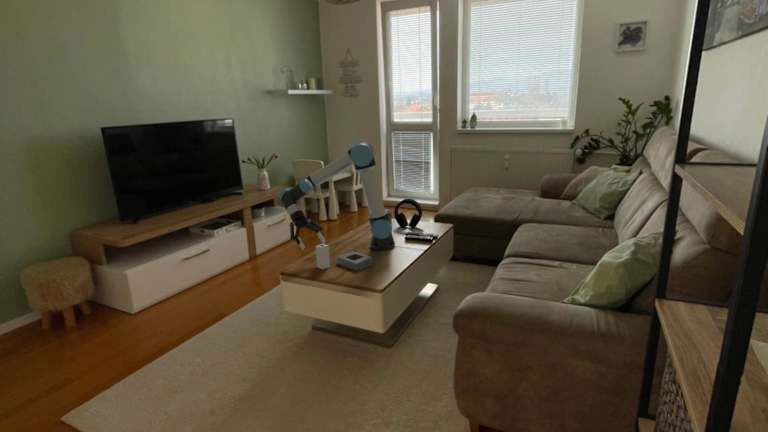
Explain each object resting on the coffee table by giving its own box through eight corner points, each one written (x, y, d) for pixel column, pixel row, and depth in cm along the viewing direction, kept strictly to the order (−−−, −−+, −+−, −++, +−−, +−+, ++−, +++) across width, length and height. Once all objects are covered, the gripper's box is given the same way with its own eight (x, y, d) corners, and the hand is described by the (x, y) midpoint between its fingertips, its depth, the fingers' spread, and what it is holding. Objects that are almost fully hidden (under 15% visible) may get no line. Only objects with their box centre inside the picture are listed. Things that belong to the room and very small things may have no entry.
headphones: (394, 228, 295) (393, 200, 290) (396, 225, 301) (396, 198, 296) (420, 229, 290) (420, 201, 285) (422, 227, 296) (422, 199, 291)
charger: (316, 267, 227) (315, 245, 224) (324, 264, 231) (322, 243, 227) (322, 269, 224) (321, 247, 221) (330, 266, 227) (328, 245, 224)
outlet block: (336, 263, 232) (336, 256, 231) (353, 257, 240) (353, 251, 239) (356, 270, 221) (356, 263, 220) (373, 264, 229) (373, 257, 228)
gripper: (311, 213, 245) (329, 243, 239) (274, 222, 228) (291, 254, 222) (316, 205, 240) (334, 236, 234) (278, 214, 223) (297, 247, 217)
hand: (314, 245), depth 228 cm, fingers open, 13 cm apart
